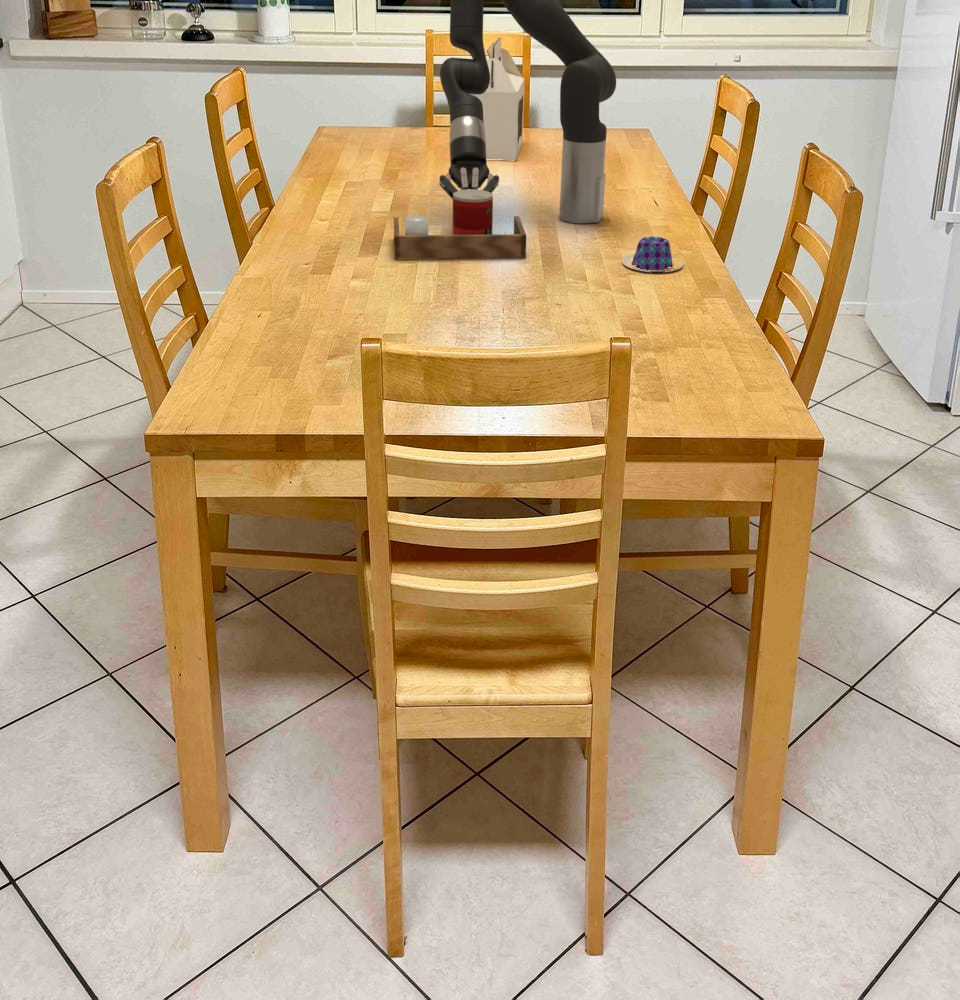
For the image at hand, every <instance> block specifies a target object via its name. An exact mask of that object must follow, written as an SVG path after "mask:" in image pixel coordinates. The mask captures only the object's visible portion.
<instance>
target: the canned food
mask: <svg viewBox="0 0 960 1000" xmlns="http://www.w3.org/2000/svg"><path fill="white" fill-rule="evenodd" d="M493 197H494V195H493V192H492V193H490V192H488V191H484V190H483V189H478V190H471V189H468V190H461V189H460V190H458V191H457V192H455V193H453V199H452V235H490V234H493V218H494V217H493V216H494V215H493V214H494V213H493V211H494V210H493V208H494V207H493V206H494V202H493V201H494V198H493Z"/></svg>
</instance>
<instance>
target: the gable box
mask: <svg viewBox="0 0 960 1000" xmlns="http://www.w3.org/2000/svg"><path fill="white" fill-rule="evenodd" d="M486 53H487V55H488V58H487V59H486V60H487V63H488V67H489V72H490V84H489V87H488V88H487V90H486V91H485V92H484V93H483V94H478V95H477V94H471V95H473V96H476V97H477V98H479V99H480V100H481V102H482V105H483V121H484V130H485V140H486V159H503V160H516V161H517V159H518V157H519V154H520V151H521V149H520V147H521V148H522V146H523V144H522V142H524V139H523V138H524V116H525V115H524V111H525V81H526V79H525V78H524V76H523V75H522V73H521V72H520V70H519V68H518V66H517V64H516V62H515V61H514V60H513V58H512V57H511V55H510V53H509V51H508V50H507V49H506V48H502V37H498V38H497V40H496V41H493V42H492V43H491V44H490V45H489V47H488V48H487V50H486ZM517 142H518V143H517ZM521 145H522V146H521ZM519 150H520V151H519ZM518 153H519V154H518ZM517 156H518V157H517ZM516 158H517V159H516Z"/></svg>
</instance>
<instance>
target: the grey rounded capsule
mask: <svg viewBox="0 0 960 1000" xmlns="http://www.w3.org/2000/svg"><path fill="white" fill-rule="evenodd" d="M404 232H405V233H404V235H429V217H428V216H426V215H419V214H418V215H415V214H414V215H409V216H406V217H404Z"/></svg>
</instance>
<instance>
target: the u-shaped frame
mask: <svg viewBox="0 0 960 1000" xmlns="http://www.w3.org/2000/svg"><path fill="white" fill-rule="evenodd" d="M513 217H514V218H513V234H512V233H510V234H509V233H508V234H507V233H505V234H502V233H501V234H499V233H497V234H493V233H492V234H490V235H453V234H428V235H405V234H404V235H403V234H401V235H400V222H399V219H400V218H399V216H396V217H395V216H394V217H393V243H394V244H393V245H394V246H393V248H394V259H395V258H467V259H526V257H527V233H526V231H525V228H524V225H523V223H522V220H521V218H520V216H519V215H517V216H516V215H514V216H513Z"/></svg>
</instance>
